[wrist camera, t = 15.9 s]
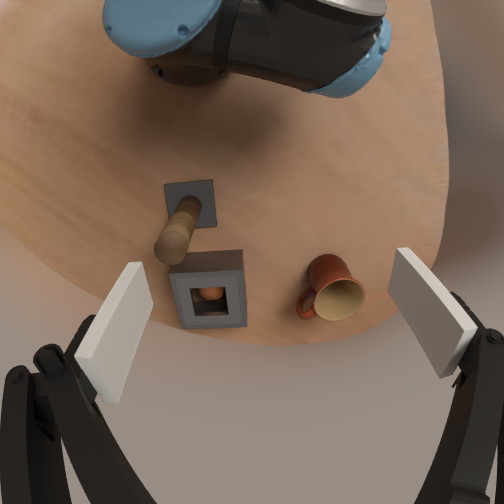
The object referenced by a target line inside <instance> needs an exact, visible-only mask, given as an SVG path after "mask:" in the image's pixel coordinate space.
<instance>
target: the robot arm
mask: <svg viewBox="0 0 504 504" xmlns="http://www.w3.org/2000/svg"><path fill="white" fill-rule="evenodd" d="M387 8H388V7H387V3H386V1H385V0H105V2H104V6H103V12H102V20H103V26H104V29H105V31H106V34H107V35H108V37H109V38H110V40H111V41H112V42H113V43H114V44H115V45H117V46H118V47H119V48H120V49H121V50H123V51H124V52H126V53H128V54H129V55H132V56H135V57H139V58H143V59H146V60H147V62H148V64H149V66H150V67H151V69H152V70H153V71H154V72H155V73H156V74H157V75H158V76H159V77H161V78H162V79H164V80H165V81H167V82H170V83H173V84H176V85H179V86H186V87H196V86H203V85H207V84H210V83H212V82H215V81H217V80H219V79H220V78H222V77H224V76H225V75H226V74H228V73H229V72H233V73H238V74H243V75H247V76H251V77H256V78H260V79H264V80H268V81H272V82H275V83H279V84H283V85H286V86H290V87H293V88H297V89H299V90H300V91H303V92H307V93H316V94H320V95H323V96H327V97H330V98H344V97H347V96H350V95H352V94H354V93H355V92H357V91H358V90H360V89H361V88H362V87H363V86H364V85H365V84H367V82H368V81H369V80H370V79H371V78H372V77H373V76H374V74H375V73H376V72H377V70H378V69H379V67H380V65H381V63H382V61H383V58H382V55H383V54H384V53H385V52H386V51H387V50H388V47H389V44H390V40H391V28H390V25H389V22H388V20H387V19H386V18H385V17H384V15H385V13H386V11H387ZM388 293H389V294H390V296H391V298H392V299H393V301H394V302H395V304H396V305H397V307H398V308H399V310H400V312H401V313H402V315H403V316H404V318H405V320H406V321H407V323H408V325H409V326H410V328H411V329H412V331H413V333H414V335H415V336H416V338H417V339H418V341H419V343H420V345H421V347H422V348H423V350H424V352H425V353H426V355H427V357H428V359H429V361H430V362H431V364H432V366H433V368H434V370H435V371H436V373H437V375H438V377H439V379H440V378H444V377H447V376H450V375H453V373H454V371H455V370H456V367H457V366H459V367H460V369H461V372H460V374H459V376H458V377H457V379H456V380H455V382H454V384H453V385H452V388H454V386H455V385H456V384H457V385H456V389H455V393H454V397H453V401H452V405H451V409H450V412H449V416H448V419H447V422H446V425H445V429H444V432H443V435H442V438H441V441H440V444H439V446H438V449H437V452H436V455H435V457H434V460H433V462H432V465H431V467H430V470H429V472H428V475H427V477H426V479H425V481H424V484H423V486H422V488H421V490H420V492H419V494H418V497H417V499H416V501H415V503H414V504H490V497H488V496H487V495H486V494H485V491H486V487H487V483H488V480H489V476H490V473H491V469H492V464H493V461H494V456H495V451H496V446H498V458H497V483H496V494H495V504H504V336H503V335H502V334H501V333H500V332H499V331H497V330H494V329H491V328H489V329H486V328H485V327H484V326H483V324H482V323H481V322H480V321H479V319H478V318H477V317H476V316H475V314H474V313H473V312H472V311H470V308H469V307H468V306H467V305H466V304H465V302H464V301H463V300H462V299H461V298H460V297H459V296H458V295H456V294H455V293H453V292H449V291H448V290H447V289H446V288H445V287H444V286H443V284H442V283H441V282H440V281H439V280H438V279H437V278H436V277H435V276H434V274H433V273H432V272H431V271H430V270H429V269H428V268H427V267H426V266H425V264H424V263H423V262H422V261H421V260H420V259H419V258H418V257H417V256H416V255H415V254H414V253H413V252H412V251H411V250H410V249H409V248H408V247H406V248H396V253H395V258H394V264H393V268H392V273H391V278H390V282H389V287H388ZM152 308H153V301H152V298H151V294H150V291H149V287H148V283H147V279H146V276H145V272H144V268H143V264H142V262H128V264H127V266H126V267H125V269H124V270H123V272H122V273H121V275H120V277H119V278H118V280H117V281H116V283H115V285H114V286H113V288H112V290H111V291H110V293H109V295H108V296H107V298H106V300H105V301H104V303H103V305H102V307H101V308H100V310H99V312H98V313H97V315H90V316H88V317H87V318H86V319H85V320H84V321H83V322H82V324H81V325H80V327H79V329H78V331H77V332H76V334H75V336H74V338H73V339H72V341H71V343H70V344H69V346H68V348H67V350H66V352H65V353H63V351H62V349H61V348H60V346H58V345H56V344H48V345H45V346H43V347H41V348H40V349H39V350H38V351H37V352H36V353H35V355H34V357H33V363H34V364H35V366H36V367H37V369H38V370H39V372H40V373H32V374H31V373H30V372H29V370H28V369H27V368H26V367H25V366H23V365H19V366H16V367H14V368H12V369H11V370H10V371H9V372H8V374H7V376H6V379H5V385H4V392H3V400H2V410H1V422H0V483H1V495H2V504H72V502H71V498H70V493H69V488H68V483H67V478H66V472H65V466H64V460H63V452H62V444H61V438H62V441H63V444H64V446H65V449H66V451H67V454H68V456H69V458H70V461H71V463H72V465H73V468H74V470H75V473H76V475H77V477H78V479H79V481H80V483H81V485H82V487H83V489H84V492H85V493H86V496H87V497H88V499H89V501H90V503H91V504H157V503H156V502H155V501H154V499H153V498H152V497H151V495H150V494H149V492H148V491H147V490H146V488H145V487H144V485H143V484H142V482H141V481H140V479H139V478H138V476H137V475H136V473H135V472H134V470H133V469H132V467H131V465H130V464H129V462H128V461H127V459H126V457H125V456H124V454H123V452H122V451H121V449H120V447H119V445H118V444H117V442H116V440H115V438H114V437H113V435H112V433H111V431H110V429H109V427H108V425H107V423H106V422H105V419H104V417H103V415H102V414H101V412H100V410H99V407H98V405H97V404H96V402H95V398H96V395H97V394H98V395H99V397H100V398H101V400H102V401H103V402H108V403H115V404H119V402H120V398H121V395H122V392H123V389H124V386H125V383H126V380H127V377H128V374H129V371H130V368H131V365H132V362H133V359H134V357H135V354H136V351H137V348H138V345H139V342H140V340H141V337H142V334H143V331H144V329H145V326H146V324H147V321H148V318H149V316H150V313H151V311H152Z"/></svg>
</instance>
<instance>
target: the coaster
mask: <svg viewBox="0 0 504 504" xmlns="http://www.w3.org/2000/svg"><path fill="white" fill-rule="evenodd" d="M164 188H165V194H166V201H167V207H168V213H169V219H170V217H171V216H172V214H173V212H174V211H175V209H176V207H177V206H178V204H179V202H180V201H181V199H182V198H183V197H185V196H188V195H192V196H195V197H197V198H198V199H199V200H200V202H201V205H202V208H201V211H200V214H199V217H198V220H197V222H196V225H195V228H198V227H212V226H217V219H216V210H215V201H214V191H213V181H212V180H200V181H190V182H180V183H171V184H165V185H164Z"/></svg>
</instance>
